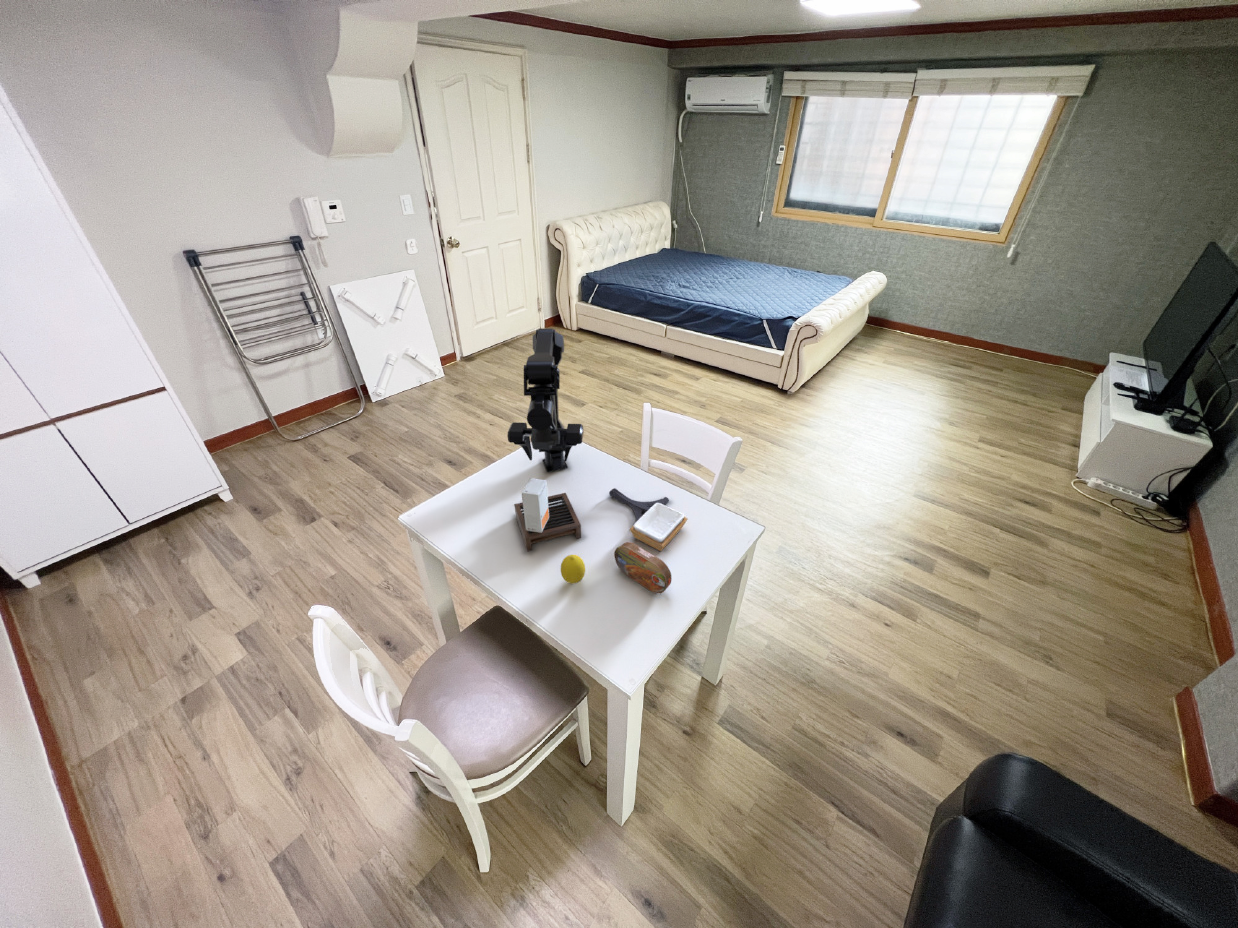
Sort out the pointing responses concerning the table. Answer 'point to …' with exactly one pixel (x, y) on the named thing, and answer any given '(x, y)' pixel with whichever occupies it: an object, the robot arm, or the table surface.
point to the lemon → (572, 569)
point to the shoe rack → (551, 521)
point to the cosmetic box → (535, 505)
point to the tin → (643, 567)
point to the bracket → (636, 503)
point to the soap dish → (658, 526)
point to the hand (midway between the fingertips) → (548, 460)
